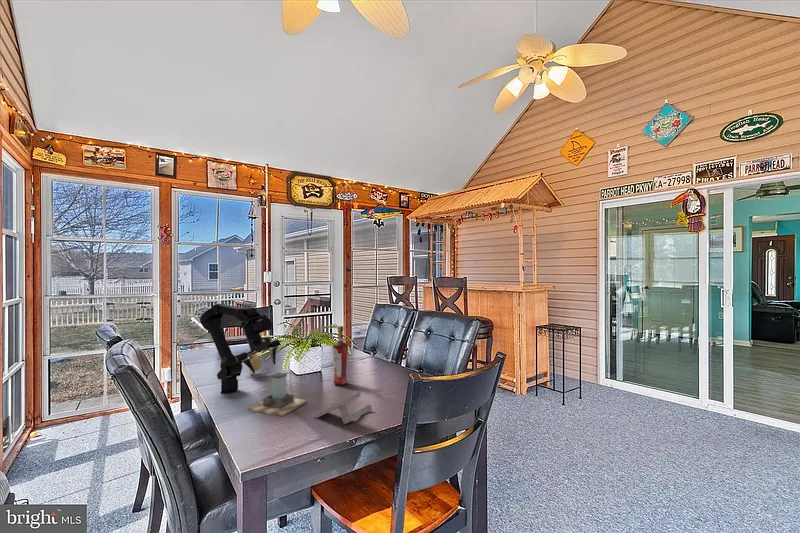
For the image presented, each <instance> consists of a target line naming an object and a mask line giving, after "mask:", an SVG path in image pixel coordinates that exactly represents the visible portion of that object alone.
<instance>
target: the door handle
mask: <svg viewBox="0 0 800 533" xmlns="http://www.w3.org/2000/svg"><path fill="white" fill-rule="evenodd" d="M360 397H361V392H360V391H358V392H356V393H354V394H351V395H348V396H347V397H345V398H343V399H341V400H339V401H337V402H336V403H333V404H331V405H329V406H327V407H326V408H324V409H322V410H320V411H317V412H316V413H314V414H313V415H312V416H313V417H314V418H315V419H317V418H320V417H322V416H324V415H326V414H328V413H329V414H330V413H331V412H333V411H335V410H336V409H338V410H339V411H340V414H341V416H342V418H341V420H342V423H343V424H344V425H346V424H349V423H351V422H352V421H353V420H355V419H357V418H359V417H360V416H362V415H363V416H364V415H365V414H368V413H369V412H371V411H373V407H372V404H370V403H369V404H367V405H365V406H363V407H361V408H360V409H357V410H356V411H355V412H352V413H350V414H349V412H348V410H347V407H346V406H347V404H348V403H350V402H352V401H355V400H356V399H359V398H360Z"/></svg>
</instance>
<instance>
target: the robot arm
mask: <svg viewBox="0 0 800 533" xmlns="http://www.w3.org/2000/svg"><path fill="white" fill-rule="evenodd" d="M203 312H204V313H201V315H200V317H199V323H200V325H202V328H203V329H205V331H207V332H209V334H210V336H211V338H212V340H213V343H214V345H215V348H216V350H217V353H218V355H219V357H220V360H221V361H220V370H219V371H218V373H217V374H216V377H217V379H218V380H220V381H221V382H220V384H221V385H220V386H221V388H220V389H221V390H220V394H231V393H237V390H238V389H239V379H238V377H241V374H242V372H243V371H242V370H243V364H244V365H246V367H248V369H250V370H251V371H252V373H254V374H256V371H254V369H253V367H252V364H251V362H250V359H249V357H248V356H251V355H253V354H256V353H258V352H261V353H262V352H263V351H266V350H268V352H269V354H270V357H271V361H272V364H273V365H276V356H277V355H276V354H277V350H278V349H279V346H281V345H282V344H281V341H280V339H273V340H271V339H270V337H269V336H266V337H264V338H263V337H262V335H261V333H265V332H268V331H271V329H272V328H273V327H272V326H273V323H272V321H271V319H270V318H269V317H267V315H266V314H264V315H261V314H260V312H258V311H257V310H256V307H254V306H249V307H248V306H247V307H241V306H234V305H230V304H226V303H222V302H221V303H215V304H213V305H212V306H211V307H210V308H209V309H207V310H205V311H203ZM225 315H227V316H232V317H234V318H235V319H236V320H238V321H240V322H241V323H240V326H239V328H238V329H243V332H244V335H245V337H246V341H247V344H248V346H249V350H250V351H248V352H247V351H245V352H241V353H238V354H237V355H234V354H233V352H232V350H231V348H230V346H229V343H228V341H227V338H226V336H225V334H224V331H223V330H222V328H221V326H222V322H223V321H222V319H223V317H224V316H225ZM254 350H255V352H254ZM246 352H247V353H246ZM250 370H249V371H250Z"/></svg>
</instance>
